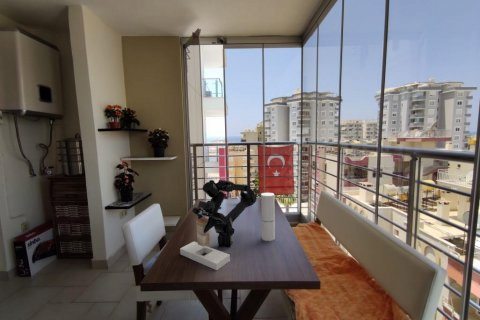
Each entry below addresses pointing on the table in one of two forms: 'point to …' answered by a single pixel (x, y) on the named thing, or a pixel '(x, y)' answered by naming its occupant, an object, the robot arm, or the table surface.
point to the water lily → (239, 196)
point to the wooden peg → (202, 232)
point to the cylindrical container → (268, 216)
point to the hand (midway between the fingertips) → (200, 231)
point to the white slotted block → (212, 258)
